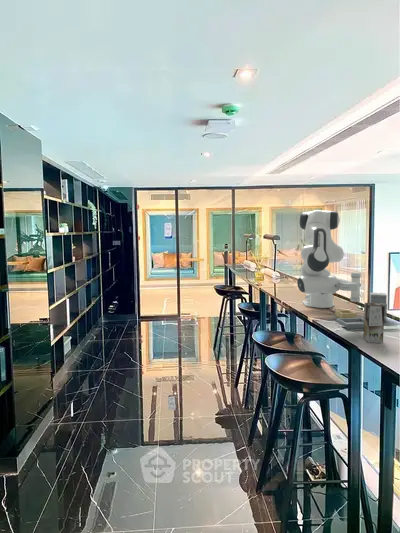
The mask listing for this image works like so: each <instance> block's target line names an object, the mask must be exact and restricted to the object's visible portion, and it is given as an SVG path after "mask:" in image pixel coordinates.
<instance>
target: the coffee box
mask: <svg viewBox="0 0 400 533" xmlns="http://www.w3.org/2000/svg"><path fill="white" fill-rule="evenodd" d="M363 310H364V313H363V319H364V330H363V338H364V339H365V340H366V341H367V342H368V343H379V344H383V343H384V332H385V331H384V330H385V327H384V326H385V321H384V313H385V306H384V305H382V304H380V303H370V302H364V309H363Z"/></svg>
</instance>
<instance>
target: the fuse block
mask: <svg viewBox="0 0 400 533" xmlns="http://www.w3.org/2000/svg"><path fill="white" fill-rule="evenodd" d="M357 314H358V313H357V312H355V311H353V310H350V309H342V310H341V309H339V310H337V309H336V310H335V312H334V314H330V316H331V317H332V318H335V319H338V318H359V317H357V316H358V315H357Z"/></svg>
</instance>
